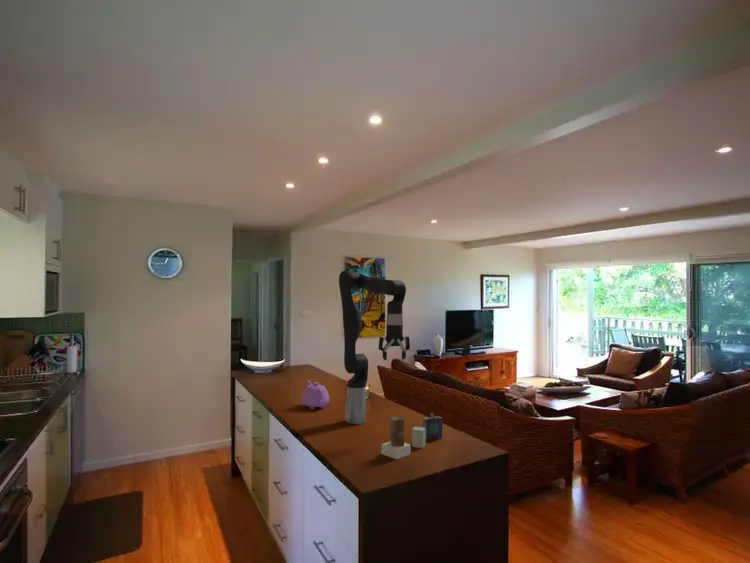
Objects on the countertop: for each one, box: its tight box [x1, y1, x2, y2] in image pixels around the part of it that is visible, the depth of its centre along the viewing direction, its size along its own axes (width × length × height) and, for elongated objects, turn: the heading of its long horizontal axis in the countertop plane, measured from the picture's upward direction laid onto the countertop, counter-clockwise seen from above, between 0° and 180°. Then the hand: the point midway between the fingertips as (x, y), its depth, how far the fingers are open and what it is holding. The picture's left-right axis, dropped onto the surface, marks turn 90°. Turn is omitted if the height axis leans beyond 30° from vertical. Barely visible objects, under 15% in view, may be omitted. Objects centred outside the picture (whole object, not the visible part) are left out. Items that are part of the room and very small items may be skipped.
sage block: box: [411, 426, 427, 449], centre depth 174 cm, size 4×4×7 cm
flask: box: [422, 412, 443, 441], centre depth 184 cm, size 9×3×11 cm, turn 109°
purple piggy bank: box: [301, 379, 330, 410], centre depth 237 cm, size 22×16×14 cm
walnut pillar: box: [389, 416, 405, 447], centre depth 164 cm, size 4×4×10 cm
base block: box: [380, 441, 412, 460], centre depth 164 cm, size 8×8×4 cm
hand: (394, 359), depth 191 cm, fingers open, 8 cm apart
